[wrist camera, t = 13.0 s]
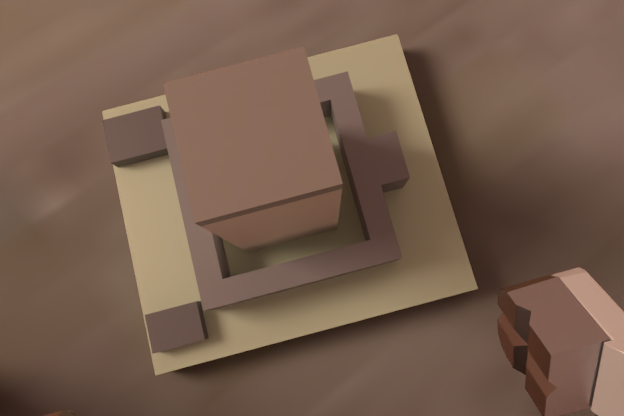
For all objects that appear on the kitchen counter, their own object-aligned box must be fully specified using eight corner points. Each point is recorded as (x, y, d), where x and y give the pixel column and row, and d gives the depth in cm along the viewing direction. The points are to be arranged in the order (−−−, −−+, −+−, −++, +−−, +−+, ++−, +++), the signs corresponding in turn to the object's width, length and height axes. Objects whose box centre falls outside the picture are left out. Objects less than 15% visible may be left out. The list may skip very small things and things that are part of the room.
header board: (166, 370, 23) (138, 383, 20) (115, 122, 25) (81, 94, 22) (468, 289, 23) (492, 288, 20) (393, 49, 25) (403, 10, 22)
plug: (247, 252, 22) (194, 222, 14) (226, 165, 23) (162, 83, 14) (337, 228, 22) (342, 183, 14) (313, 142, 23) (303, 46, 14)
